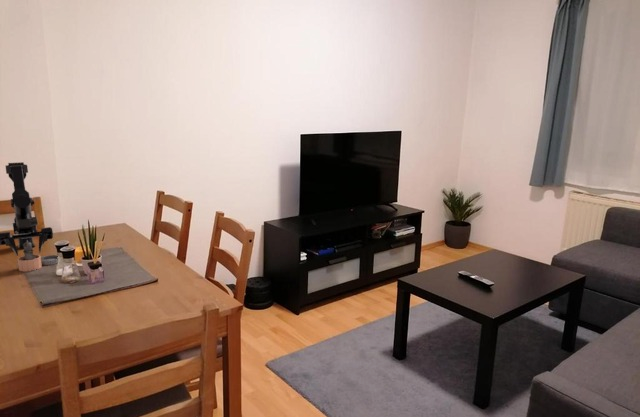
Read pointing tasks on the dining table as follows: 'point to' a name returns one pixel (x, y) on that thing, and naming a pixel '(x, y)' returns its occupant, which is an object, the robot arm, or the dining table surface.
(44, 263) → the charcoal tray
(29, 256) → the grey chess piece
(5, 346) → the dining table surface
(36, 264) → the pink ribbed bowl
